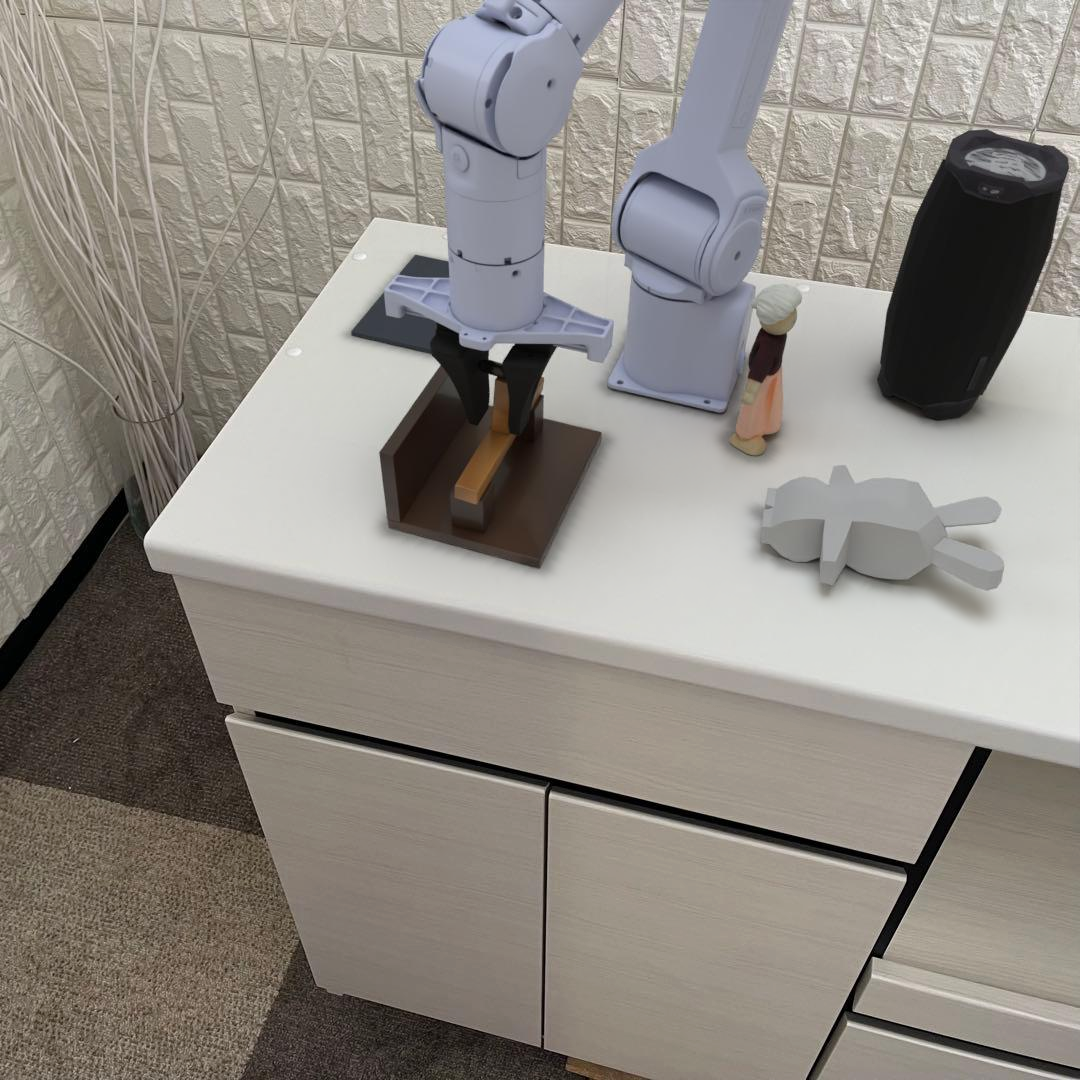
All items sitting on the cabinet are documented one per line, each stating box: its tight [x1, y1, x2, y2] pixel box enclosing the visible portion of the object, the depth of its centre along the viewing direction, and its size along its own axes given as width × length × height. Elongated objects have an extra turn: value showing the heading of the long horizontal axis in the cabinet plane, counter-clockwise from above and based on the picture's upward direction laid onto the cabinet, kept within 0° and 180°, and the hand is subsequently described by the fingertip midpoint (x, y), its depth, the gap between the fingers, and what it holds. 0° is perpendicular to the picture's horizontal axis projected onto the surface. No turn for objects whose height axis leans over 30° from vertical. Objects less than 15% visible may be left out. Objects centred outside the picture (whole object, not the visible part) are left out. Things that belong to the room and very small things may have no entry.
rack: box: [378, 364, 603, 569], centre depth 73 cm, size 11×14×7 cm
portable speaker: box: [876, 128, 1070, 421], centre depth 77 cm, size 9×9×20 cm
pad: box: [350, 254, 449, 354], centre depth 91 cm, size 10×13×1 cm
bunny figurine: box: [759, 464, 1005, 591], centre depth 70 cm, size 10×5×15 cm
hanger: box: [454, 359, 545, 504], centre depth 71 cm, size 3×13×6 cm, turn 160°
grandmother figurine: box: [729, 283, 803, 456], centre depth 76 cm, size 8×4×13 cm, turn 168°
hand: (498, 420), depth 72 cm, fingers closed on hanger, 2 cm apart
